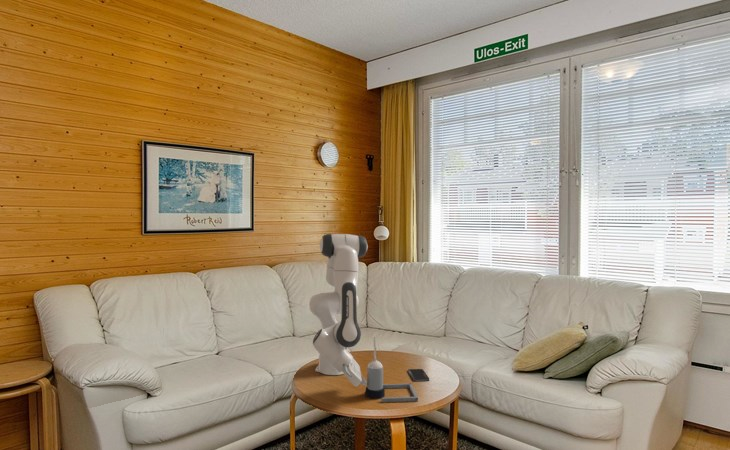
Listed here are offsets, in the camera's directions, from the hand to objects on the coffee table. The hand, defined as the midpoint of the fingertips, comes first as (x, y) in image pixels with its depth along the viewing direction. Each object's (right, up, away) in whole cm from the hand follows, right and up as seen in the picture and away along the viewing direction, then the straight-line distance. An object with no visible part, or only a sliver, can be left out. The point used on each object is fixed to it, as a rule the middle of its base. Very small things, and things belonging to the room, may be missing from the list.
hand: (365, 384), depth 194 cm
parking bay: (+13, -5, +1) cm, 14 cm away
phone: (+25, -5, +24) cm, 35 cm away
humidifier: (+4, -5, 0) cm, 6 cm away
